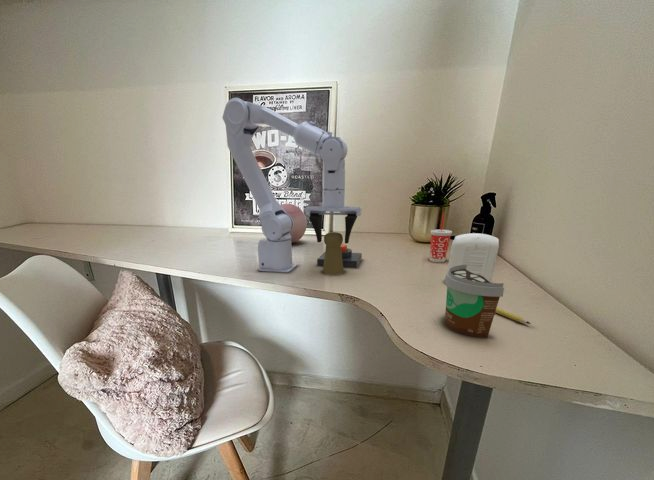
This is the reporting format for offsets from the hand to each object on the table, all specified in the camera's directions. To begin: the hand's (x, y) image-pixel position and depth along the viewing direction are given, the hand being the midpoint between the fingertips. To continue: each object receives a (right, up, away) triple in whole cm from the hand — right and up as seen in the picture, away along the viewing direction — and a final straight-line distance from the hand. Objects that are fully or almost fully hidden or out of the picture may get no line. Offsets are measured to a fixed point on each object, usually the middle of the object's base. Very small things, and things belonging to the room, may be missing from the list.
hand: (333, 242), depth 92 cm
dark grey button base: (+3, -4, +12) cm, 13 cm away
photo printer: (+33, -12, -9) cm, 36 cm away
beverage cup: (+33, -3, +12) cm, 36 cm away
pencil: (+31, -20, -25) cm, 44 cm away
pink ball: (-15, +8, +41) cm, 44 cm away
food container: (+21, -22, -30) cm, 43 cm away
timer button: (+3, 0, +11) cm, 11 cm away
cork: (0, -8, +4) cm, 9 cm away
